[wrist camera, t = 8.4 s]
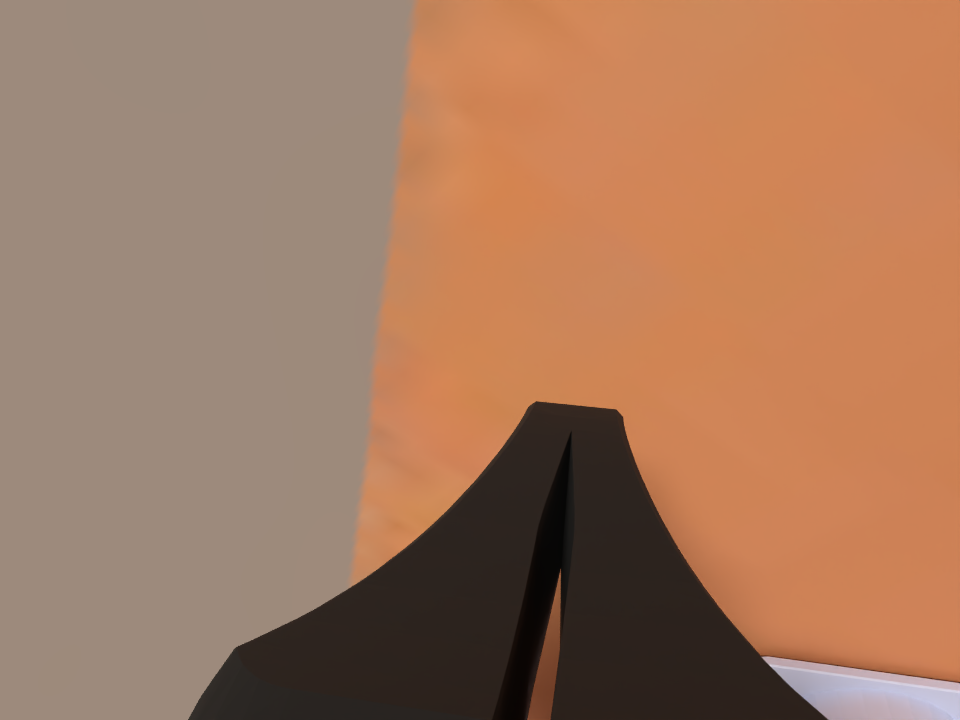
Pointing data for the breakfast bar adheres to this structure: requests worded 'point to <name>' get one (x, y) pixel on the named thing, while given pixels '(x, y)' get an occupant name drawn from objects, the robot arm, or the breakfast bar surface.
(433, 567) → the robot arm
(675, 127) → the breakfast bar surface
